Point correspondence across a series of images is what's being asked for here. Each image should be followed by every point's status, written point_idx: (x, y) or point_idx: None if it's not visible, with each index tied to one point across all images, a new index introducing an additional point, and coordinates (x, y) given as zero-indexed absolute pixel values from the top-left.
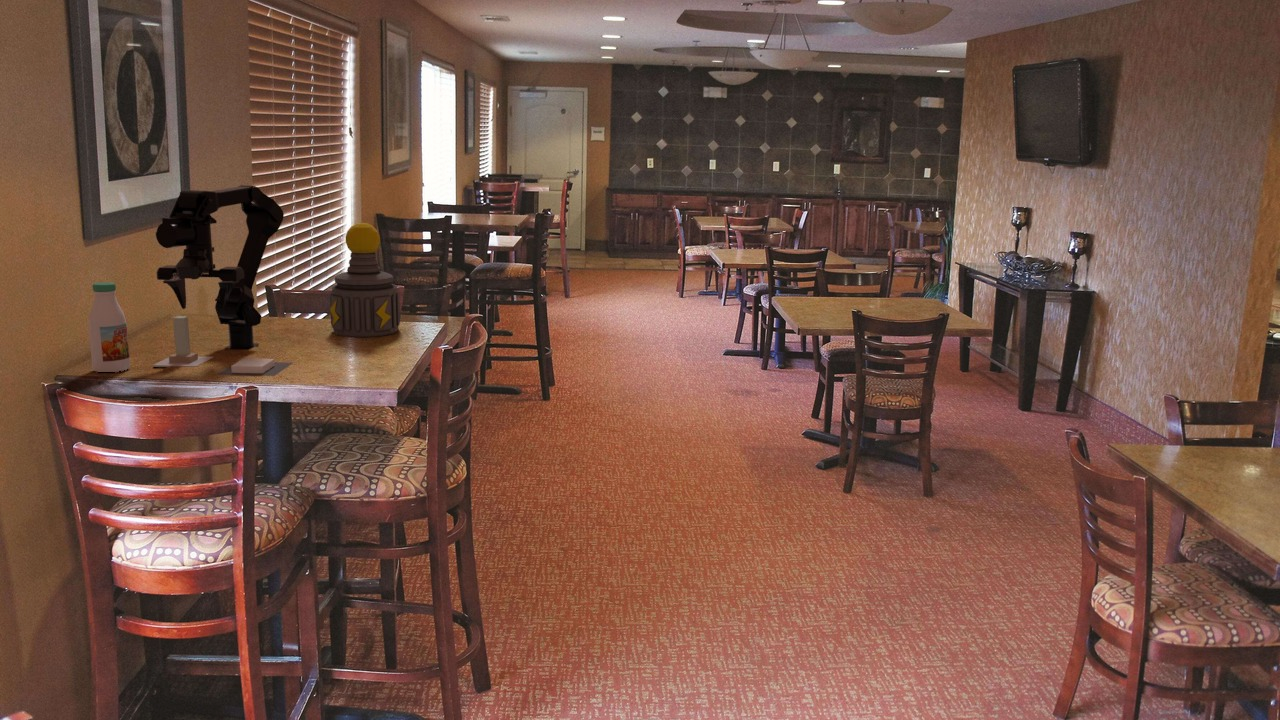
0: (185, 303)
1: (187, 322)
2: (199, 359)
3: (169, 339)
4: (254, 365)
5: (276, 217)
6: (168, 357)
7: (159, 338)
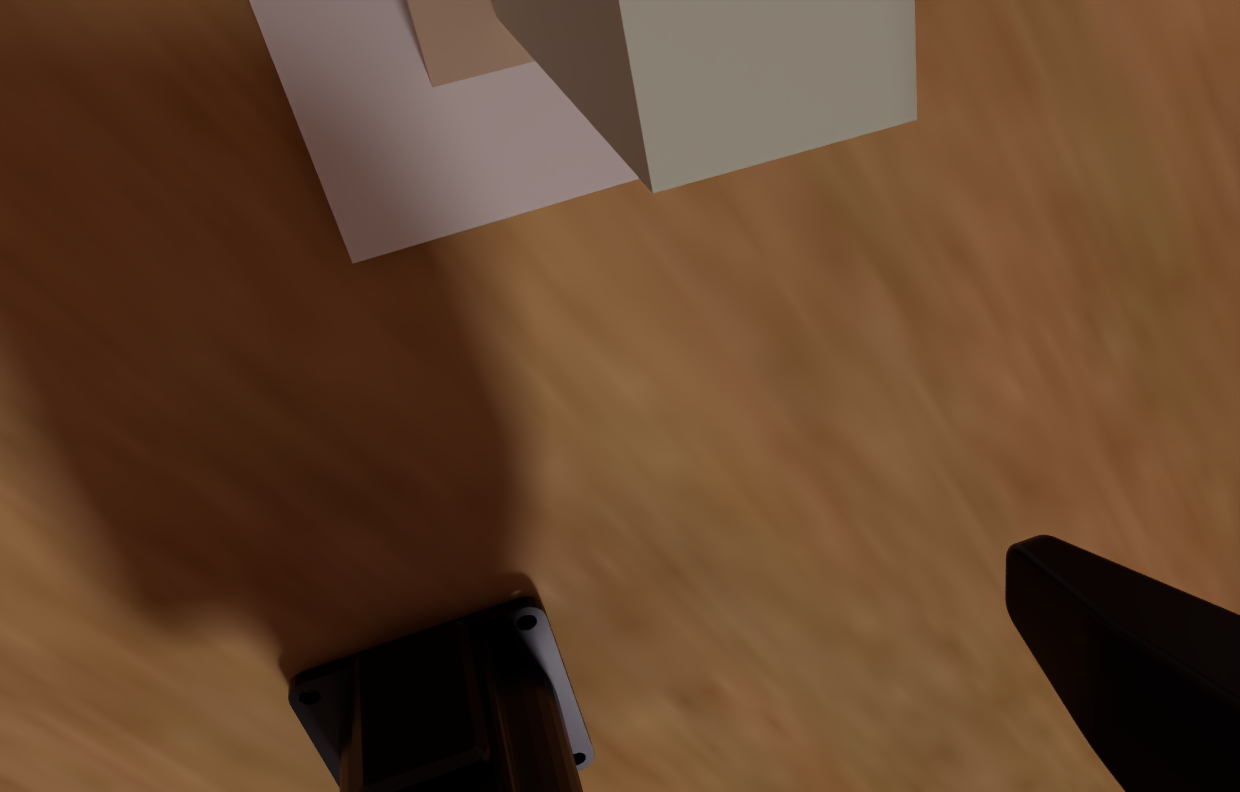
0: (1072, 693)
1: (601, 100)
2: (401, 68)
3: None
4: None
5: None
6: None
7: None
